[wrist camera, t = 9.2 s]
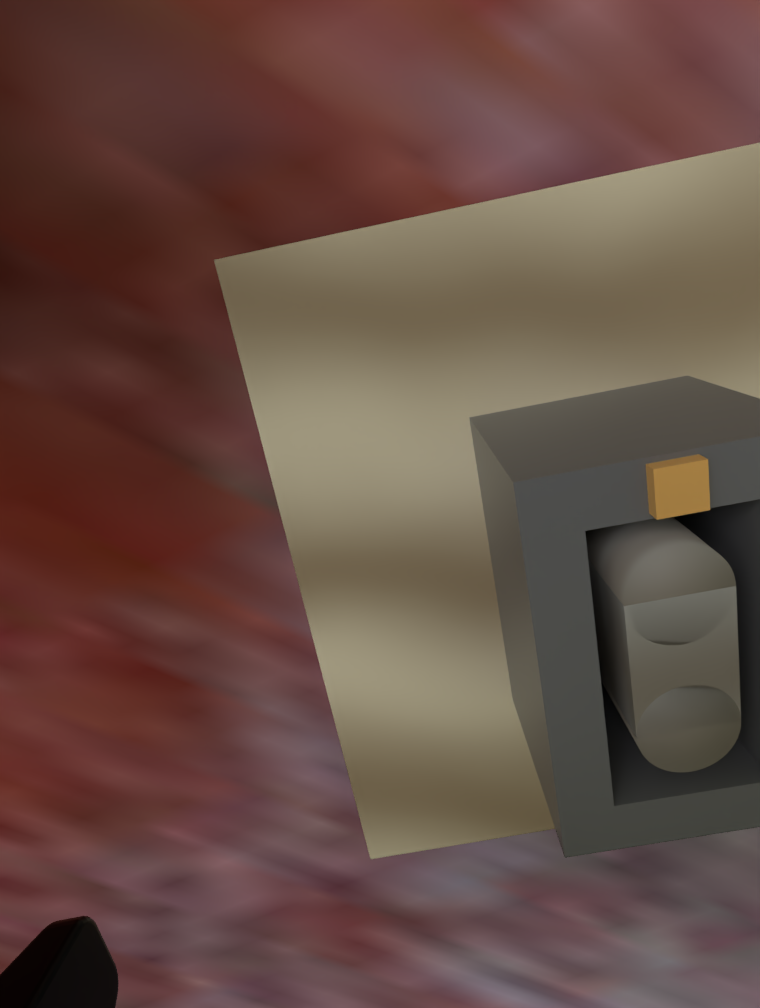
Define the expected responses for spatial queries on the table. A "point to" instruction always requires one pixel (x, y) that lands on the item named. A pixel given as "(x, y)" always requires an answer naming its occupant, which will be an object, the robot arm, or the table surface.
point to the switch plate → (454, 477)
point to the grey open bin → (568, 597)
